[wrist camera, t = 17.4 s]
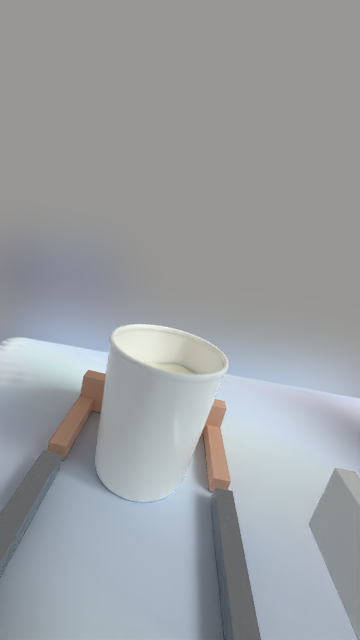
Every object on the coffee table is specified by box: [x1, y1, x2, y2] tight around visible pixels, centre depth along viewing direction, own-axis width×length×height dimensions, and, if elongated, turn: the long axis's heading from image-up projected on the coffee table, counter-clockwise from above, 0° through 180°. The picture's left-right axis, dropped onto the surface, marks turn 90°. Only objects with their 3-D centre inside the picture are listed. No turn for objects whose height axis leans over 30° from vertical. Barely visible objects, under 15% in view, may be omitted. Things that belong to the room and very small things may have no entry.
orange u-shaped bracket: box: [48, 370, 230, 492], centre depth 29 cm, size 16×9×4 cm, turn 89°
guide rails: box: [0, 451, 261, 640], centre depth 16 cm, size 16×17×2 cm
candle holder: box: [95, 324, 229, 502], centre depth 25 cm, size 10×10×12 cm
